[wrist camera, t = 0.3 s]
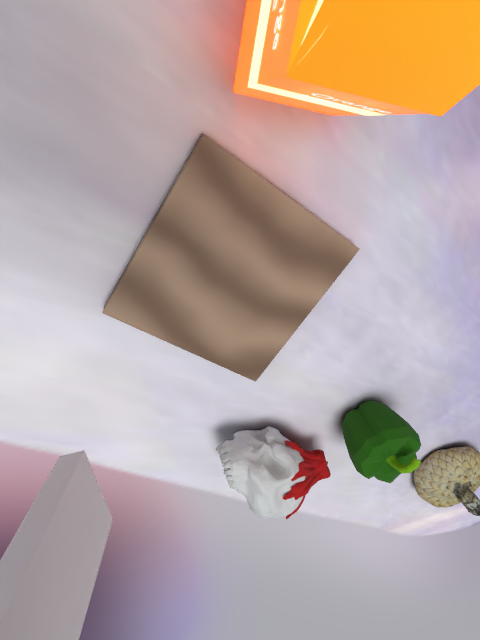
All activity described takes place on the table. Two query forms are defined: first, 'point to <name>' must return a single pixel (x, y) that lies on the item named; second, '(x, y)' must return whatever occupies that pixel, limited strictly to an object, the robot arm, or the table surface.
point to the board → (228, 265)
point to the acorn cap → (450, 478)
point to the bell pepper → (380, 441)
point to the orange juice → (360, 54)
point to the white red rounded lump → (271, 470)
